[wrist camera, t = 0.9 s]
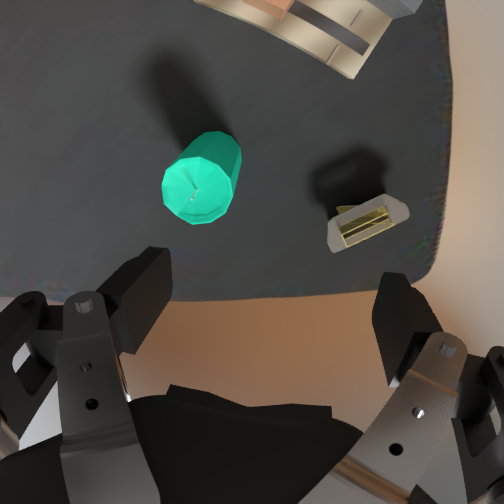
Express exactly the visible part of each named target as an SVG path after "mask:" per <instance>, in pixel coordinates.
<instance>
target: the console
mask: <svg viewBox="0 0 504 504" xmlns="http://www.w3.org/2000/svg"><path fill="white" fill-rule="evenodd" d="M193 1H194V2H196V3H199V4H202V5H204V6H207V7H210V8H213V9H215V10H218V11H220V12H223V13H225V14H228V15H230V16H233V17H235V18H238V19H240V20H242V21H244V22H247V23H249V24H251V25H253V26H256V27H258V28H260V29H262V30H264V31H266V32H268V33H270V34H272V35H274V36H276V37H278V38H280V39H282V40H284V41H286V42H288V43H290V44H292V45H294V46H295V47H297V48H299V49H301V50H303V51H304V52H306V53H308V54H310V55H311V56H313V57H315V58H316V59H318V60H320V61H321V62H323V63H325V64H326V65H328V66H330V67H331V68H333V69H334V70H336V71H338V72H339V73H341V74H342V75H344V76H345V77H347V78H348V79H354V78H355V76H356V74H357V73H358V71H359V70H360V68H361V67H362V65H363V64H364V62H365V61H366V59H367V58H368V56H369V55H370V53H371V51H372V50H373V48H374V47H375V45H376V44H377V42H378V41H379V39H380V38H381V36H382V35H383V33H384V32H385V30H386V29H387V27H388V26H389V24H390V23H391V21H392V18H391V17H389V16H388V15H387V14H385V13H384V12H383V11H381V10H380V9H378V8H377V7H375V6H374V5H373V4H371V3H370V2H368V1H367V0H295V1H294V2H293V4H292V5H291V7H290V8H289V10H288V11H287V13H286V14H285V16H284V17H283V19H282V20H280V19H278V18H276V17H274V16H272V15H270V14H267V13H265V12H263V11H261V10H259V9H256V8H254V7H252V6H250V5H247V4H245V3H244V2H243V0H193Z"/></svg>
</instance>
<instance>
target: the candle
mask: <svg viewBox="0 0 504 504" xmlns="http://www.w3.org/2000/svg"><path fill="white" fill-rule="evenodd" d="M241 162H242V159H241V150H240V146H239V145H238V144H237V143H236V141H235V140H234V139H233V137H232V136H230V135H227V134H225V133H223V132H220V131H213V132H205V133H203V134H202V135H201V136H199V137H198V138H197V139H195V140H194V141H193V142H192V143H191V144H190V145H189V146H188V147H187V148H186V149H185V150H184V151H183V152H182V153H181V154H180V156H179V157H178V158H177V159H176V160H175V161H174V162H173V163H172V164H171V165H170V166H169V167H168V169H167V170H166V172H165V175H164V179H163V182H162V192H163V199H164V204H165V205H166V206H167V207H168V208H169V209H170V210H171V211H172V212H173V213H174V214H175V215H176V216H178V217H180V218H181V219H183V220H185V221H187V222H189V223H191V224H192V225H193V224H202V223H211V222H212V221H214V220H215V219H217V218H218V217H220V216H221V215H223V214H225V213H226V210H227V208H228V206H229V204H230V202H231V200H232V198H233V194H234V190H235V186H236V182H237V178H238V174H239V170H240V166H241Z"/></svg>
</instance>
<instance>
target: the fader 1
mask: <svg viewBox="0 0 504 504" xmlns="http://www.w3.org/2000/svg"><path fill="white" fill-rule="evenodd" d="M294 1H295V0H243V2H244V3H245V4H247V5H250V6H252V7H254V8H256V9H259V10H261V11H263V12H265V13H267V14H270V15H272V16H274V17H276V18H278V19H280V20H282V19H283V17H284V16H285V14H286V13H287V11H288V10H289V8H290V7H291V5H292V4H293V2H294Z"/></svg>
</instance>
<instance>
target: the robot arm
mask: <svg viewBox="0 0 504 504" xmlns="http://www.w3.org/2000/svg"><path fill="white" fill-rule="evenodd" d="M172 290H173V281H172V269H171V256H170V251H169V249H168V248H162V247H153V246H149V247H148V248H147V249H146V250H144V251H143V252H142V253H141V254H140V255H139V256H138V257H135V258H133V259H131V260H129V261H127V262H125V263H124V264H123V265H122V266H121V267H120V268H118V270H116V271H115V272H114V273H113V274H112V276H110V277H109V278H108V279H107V280H106V281H105V282H104V283H103V284H102V285H101V286H100V287H99V288H98V289H97V290H96V291H83V292H79V293H76V294H74V295H72V296H70V297H69V298H68V299H67V300H66V301H65V303H64V305H48V304H47V301H46V298H45V295H44V294H43V293H42V292H39V291H30V292H26V293H24V294H21V295H20V296H18V297H17V298H15V299H14V300H13V301H12V302H11V303H10V304H9V305H8V306H7V307H6V308H5V309H4V310H3V311H2V312H0V504H437V503H436V502H435V501H434V500H433V499H432V498H431V497H430V496H429V495H428V494H427V493H426V492H425V491H424V490H422V488H421V487H419V486H418V485H417V484H416V483H417V482H418V480H419V478H420V476H421V474H422V472H423V471H424V469H425V467H426V465H427V463H428V462H429V460H430V458H431V456H432V454H433V452H434V450H435V448H436V445H437V444H438V442H439V439H440V437H441V435H442V433H443V431H444V428H445V426H446V424H447V421H448V419H449V417H451V420H452V425H453V428H454V433H455V437H456V441H457V445H458V450H459V455H460V460H461V465H462V470H463V476H464V482H465V488H466V495H467V502H468V504H504V347H502V346H494V347H492V348H491V349H490V350H489V352H488V354H487V356H486V357H485V358H484V357H480V356H475V355H471V354H468V350H467V347H466V345H465V344H464V343H463V341H462V340H461V339H459V338H458V337H456V336H455V335H452V334H450V333H447V332H444V331H443V329H442V327H441V325H440V323H439V322H438V320H437V318H436V316H435V314H434V313H433V312H432V309H431V307H430V306H429V304H428V302H427V300H426V298H425V297H424V295H423V294H421V293H420V292H419V291H418V290H417V289H416V288H413V287H411V285H410V283H409V282H408V280H407V278H406V276H405V275H404V274H402V273H392V272H384V273H383V275H382V278H381V281H380V285H379V289H378V292H377V296H376V299H375V303H374V306H373V310H372V325H373V328H374V332H375V335H376V339H377V343H378V346H379V350H380V354H381V358H382V362H383V366H384V369H385V374H386V377H387V382H388V387H397V389H396V390H395V391H394V393H393V395H392V396H391V397H390V399H389V400H388V402H387V403H386V405H385V406H384V407H383V409H382V410H381V412H380V413H379V414H378V416H377V417H376V418H375V420H374V421H373V422H372V424H371V425H370V426H369V428H368V429H367V430H366V431H365V433H363V432H362V431H361V430H359V429H357V428H356V427H354V426H352V425H350V424H348V423H346V422H343V421H340V420H338V419H334V418H332V408H331V406H318V405H303V404H284V405H283V404H282V405H271V406H259V407H246V406H243V405H240V404H238V403H235V402H232V401H230V400H227V399H224V398H222V397H219V396H217V395H214V394H212V393H209V392H205V391H200V390H195V389H190V388H186V387H181V386H176V385H172V384H170V386H169V389H168V391H167V393H166V395H152V396H146V397H141V398H138V399H134V400H132V399H131V396H130V393H129V389H128V386H127V383H126V379H125V376H124V372H123V369H122V365H121V361H120V358H119V356H120V354H121V353H122V352H126V353H129V354H134V355H135V353H136V352H137V350H138V349H139V347H140V345H141V344H142V342H143V341H144V339H145V337H146V336H147V334H148V333H149V331H150V330H151V328H152V326H153V325H154V323H155V322H156V320H157V319H158V317H159V315H160V314H161V312H162V311H163V309H164V308H165V306H166V305H167V303H168V302H169V300H170V298H171V295H172ZM24 343H26V345H27V347H28V349H29V352H30V356H29V357H28V358H27V359H26V361H25V362H24V363H23V365H22V366H21V367H20V368H19V369H18V371H17V372H16V373H15V371H14V369H13V366H12V361H13V357H14V355H15V354H16V352H17V351H18V350H19V349H20V348H21V347H22V345H23V344H24ZM56 381H58V397H59V409H60V418H61V427H62V433H60V434H58V435H56V436H54V437H51V438H49V439H47V440H44V441H42V442H40V443H37V444H35V445H32V446H30V447H27V448H25V449H22V450H20V451H19V440H20V438H21V437H22V435H23V433H24V432H25V430H26V428H27V427H28V425H29V424H30V422H31V420H32V419H33V417H34V415H35V414H36V412H37V410H38V409H39V407H40V406H41V404H42V403H43V401H44V400H45V398H46V396H47V395H48V393H49V392H50V390H51V389H52V387H53V386H54V384H55V383H56ZM495 406H496V407H497V410H498V413H499V415H500V418H501V429H500V432H499V434H498V435H496V432H495V429H494V426H493V423H492V420H491V417H490V413H491V411H492V410H493V409H494V408H495Z"/></svg>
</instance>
